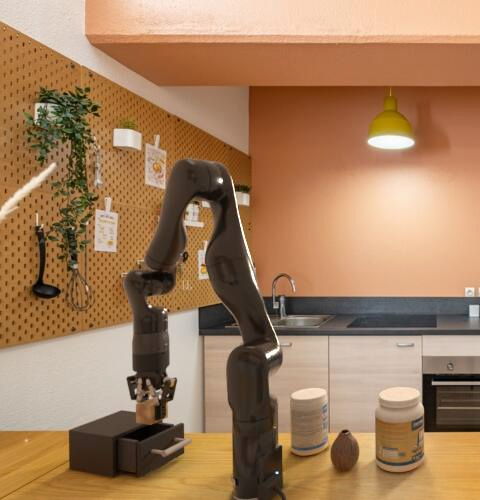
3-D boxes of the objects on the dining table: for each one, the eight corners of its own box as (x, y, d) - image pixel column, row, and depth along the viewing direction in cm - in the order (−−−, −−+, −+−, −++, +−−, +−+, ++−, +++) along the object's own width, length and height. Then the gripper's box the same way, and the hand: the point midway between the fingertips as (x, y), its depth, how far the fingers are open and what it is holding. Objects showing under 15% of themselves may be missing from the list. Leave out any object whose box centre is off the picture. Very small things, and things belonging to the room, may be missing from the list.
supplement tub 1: (332, 450, 107) (332, 395, 107) (295, 461, 102) (295, 402, 102) (321, 436, 115) (321, 385, 115) (286, 445, 110) (286, 391, 110)
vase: (364, 461, 101) (364, 426, 101) (351, 476, 94) (350, 439, 94) (339, 458, 103) (339, 423, 103) (324, 472, 96) (324, 435, 96)
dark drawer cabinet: (163, 451, 107) (162, 415, 107) (113, 477, 95) (112, 437, 95) (122, 444, 111) (121, 410, 111) (69, 469, 99) (68, 429, 99)
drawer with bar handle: (199, 455, 103) (199, 425, 103) (157, 480, 92) (156, 446, 92) (144, 446, 108) (144, 417, 108) (98, 469, 97) (98, 436, 97)
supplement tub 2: (423, 474, 95) (423, 402, 95) (371, 475, 95) (371, 403, 95) (425, 448, 107) (424, 385, 107) (379, 449, 107) (378, 385, 107)
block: (168, 417, 101) (167, 399, 101) (150, 425, 97) (150, 406, 97) (154, 415, 103) (153, 397, 103) (135, 423, 98) (135, 404, 98)
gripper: (113, 351, 98) (115, 421, 98) (159, 354, 94) (160, 428, 94) (144, 344, 105) (145, 409, 105) (187, 347, 101) (188, 415, 102)
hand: (152, 417), depth 100 cm, fingers closed on block, 4 cm apart
